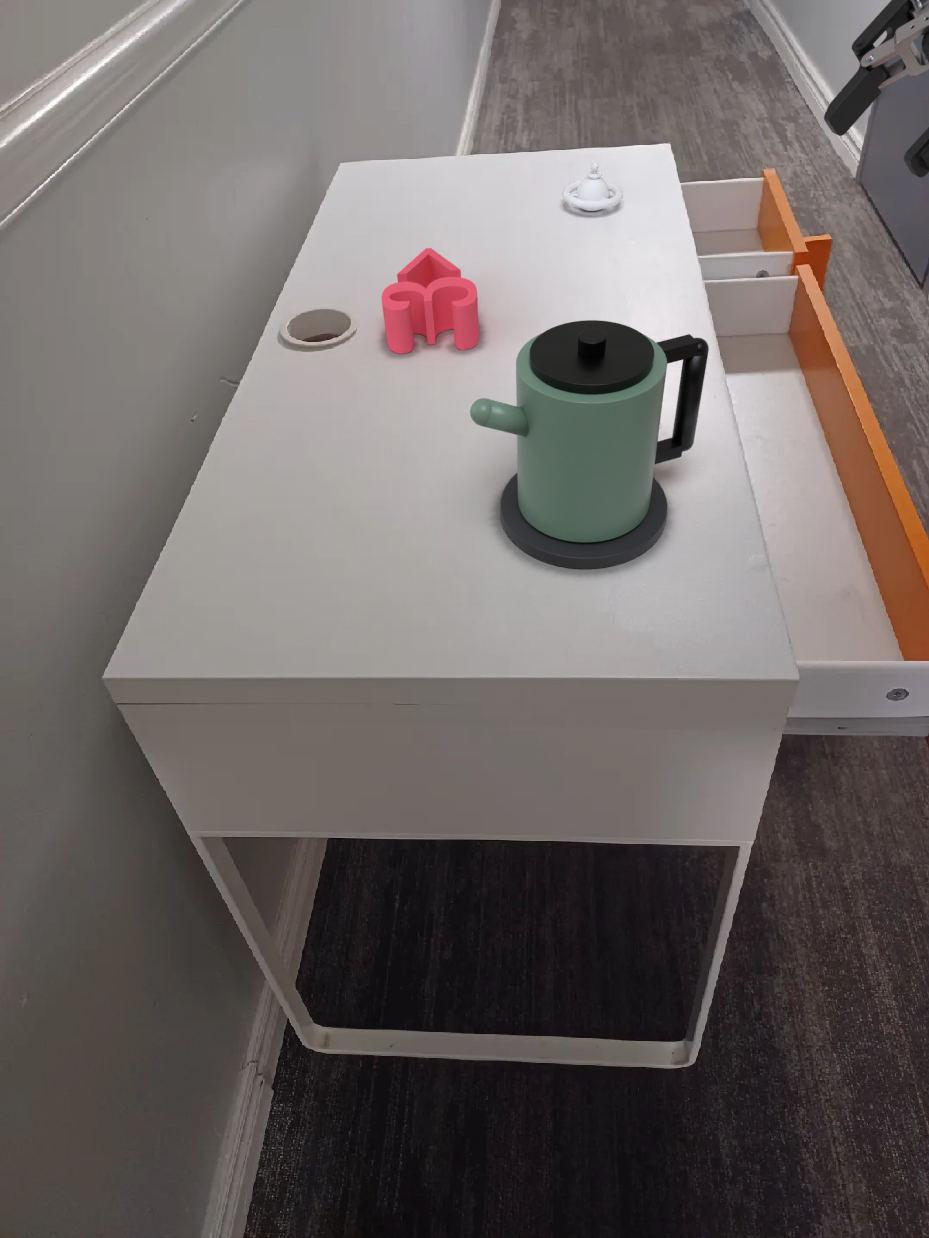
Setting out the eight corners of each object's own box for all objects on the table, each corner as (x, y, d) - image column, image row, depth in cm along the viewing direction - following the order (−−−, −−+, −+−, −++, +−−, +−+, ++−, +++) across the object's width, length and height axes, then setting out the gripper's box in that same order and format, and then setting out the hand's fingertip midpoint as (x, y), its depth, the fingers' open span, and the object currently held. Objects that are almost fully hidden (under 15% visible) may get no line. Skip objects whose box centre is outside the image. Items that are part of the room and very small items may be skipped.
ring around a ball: (611, 224, 114) (629, 201, 119) (615, 179, 109) (634, 156, 114) (552, 215, 116) (572, 192, 121) (555, 170, 112) (575, 148, 117)
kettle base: (673, 472, 78) (675, 461, 77) (656, 580, 69) (658, 569, 68) (519, 455, 81) (519, 444, 80) (483, 556, 72) (483, 545, 71)
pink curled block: (390, 292, 104) (385, 250, 101) (476, 287, 104) (474, 245, 100) (385, 354, 95) (380, 311, 91) (480, 349, 94) (478, 305, 91)
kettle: (656, 434, 80) (676, 274, 69) (721, 506, 72) (755, 340, 61) (454, 490, 76) (442, 330, 65) (503, 572, 68) (497, 407, 58)
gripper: (975, -149, 56) (783, 82, 63) (1168, -120, 47) (921, 147, 53) (1009, -58, 61) (828, 148, 68) (1189, -16, 52) (961, 218, 58)
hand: (869, 147), depth 60 cm, fingers open, 8 cm apart
